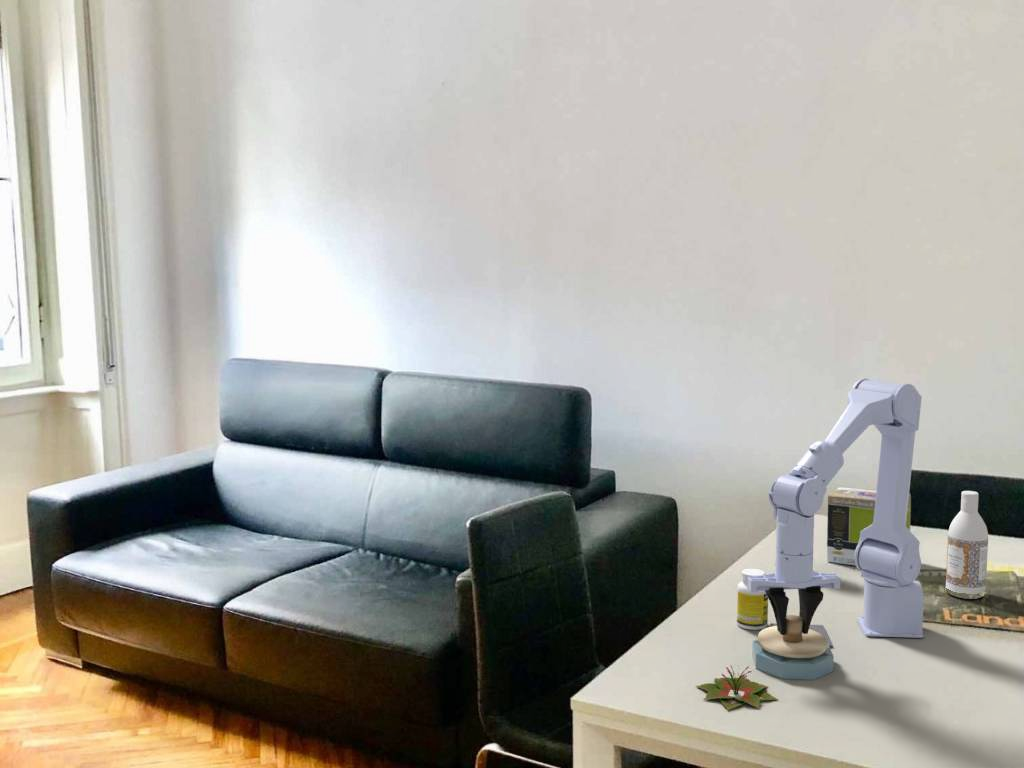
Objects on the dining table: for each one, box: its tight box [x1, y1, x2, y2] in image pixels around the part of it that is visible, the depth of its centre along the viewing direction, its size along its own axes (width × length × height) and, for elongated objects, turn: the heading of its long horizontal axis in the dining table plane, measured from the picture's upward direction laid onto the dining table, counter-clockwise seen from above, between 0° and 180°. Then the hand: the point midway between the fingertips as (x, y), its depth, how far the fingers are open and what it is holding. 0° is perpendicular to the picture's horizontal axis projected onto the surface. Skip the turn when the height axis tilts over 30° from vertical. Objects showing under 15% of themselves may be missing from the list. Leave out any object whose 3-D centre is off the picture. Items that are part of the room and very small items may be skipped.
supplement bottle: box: [736, 568, 769, 631], centre depth 179 cm, size 5×5×10 cm
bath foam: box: [945, 490, 989, 594], centre depth 191 cm, size 7×7×20 cm
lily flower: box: [696, 665, 780, 711], centre depth 152 cm, size 12×12×5 cm
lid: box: [757, 614, 827, 658], centre depth 162 cm, size 11×11×4 cm
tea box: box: [826, 486, 912, 567], centre depth 212 cm, size 15×10×15 cm, turn 58°
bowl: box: [752, 638, 835, 681], centre depth 163 cm, size 12×12×2 cm
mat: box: [770, 623, 833, 649], centre depth 174 cm, size 9×9×1 cm
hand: (792, 632), depth 162 cm, fingers closed on lid, 3 cm apart
